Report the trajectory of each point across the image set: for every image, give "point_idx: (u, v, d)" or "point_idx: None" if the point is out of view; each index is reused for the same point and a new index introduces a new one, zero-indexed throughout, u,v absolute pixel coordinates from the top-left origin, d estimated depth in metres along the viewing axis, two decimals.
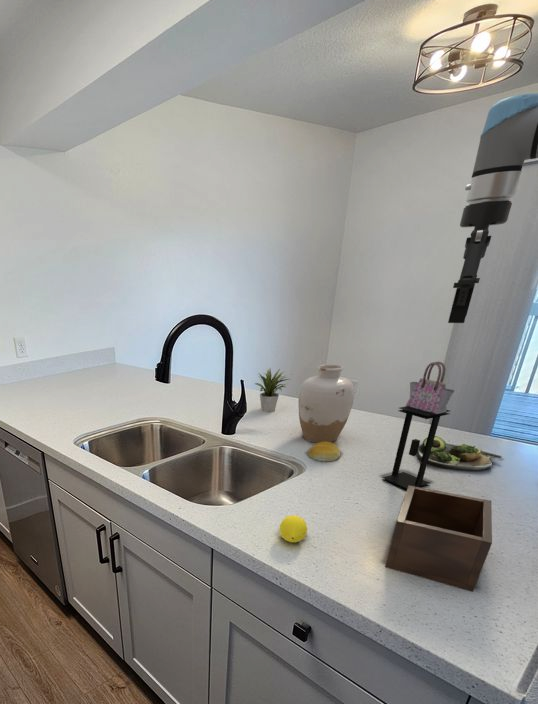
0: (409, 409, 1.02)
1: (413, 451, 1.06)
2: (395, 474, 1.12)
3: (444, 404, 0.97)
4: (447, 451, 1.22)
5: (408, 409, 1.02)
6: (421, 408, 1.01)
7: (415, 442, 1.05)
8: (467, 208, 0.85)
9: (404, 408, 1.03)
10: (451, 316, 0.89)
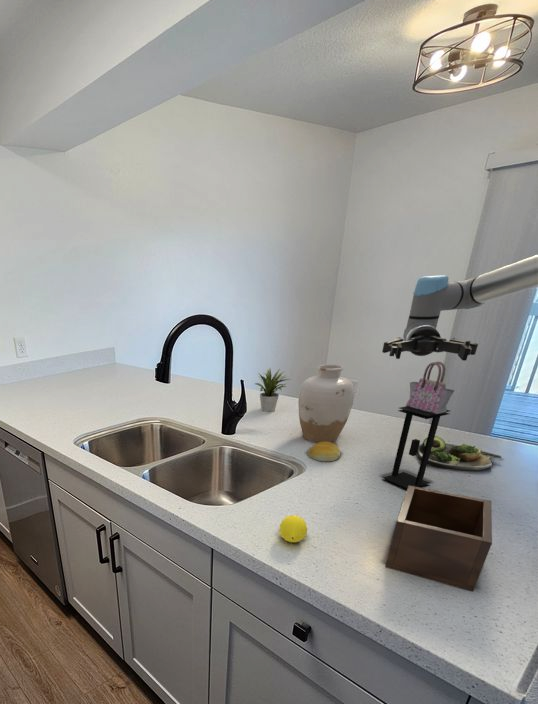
0: (409, 409, 1.02)
1: (413, 451, 1.06)
2: (395, 474, 1.12)
3: (444, 404, 0.97)
4: (447, 451, 1.22)
5: (408, 409, 1.02)
6: (421, 408, 1.01)
7: (415, 442, 1.05)
8: None
9: (404, 408, 1.03)
10: (396, 356, 1.08)
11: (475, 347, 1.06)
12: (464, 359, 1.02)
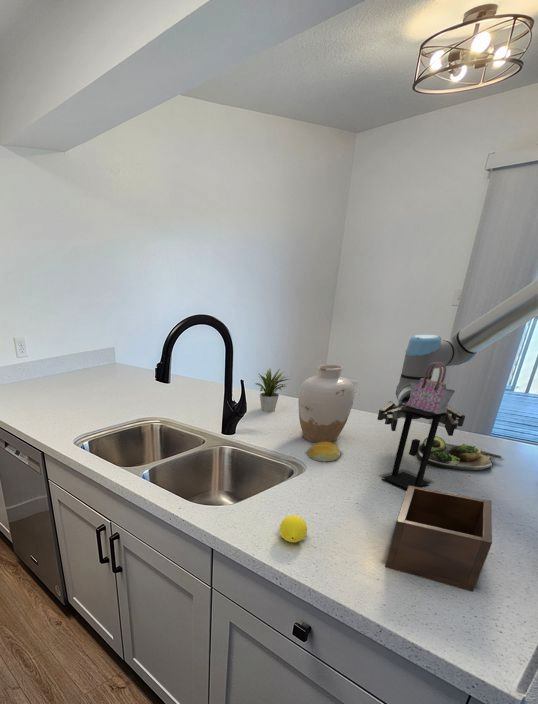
0: (410, 409, 1.02)
1: (413, 451, 1.06)
2: (395, 474, 1.12)
3: (444, 404, 0.97)
4: (447, 451, 1.22)
5: (408, 409, 1.02)
6: (421, 408, 1.01)
7: (415, 442, 1.05)
8: None
9: (404, 408, 1.03)
10: (391, 427, 1.04)
11: (462, 419, 1.02)
12: (450, 434, 0.98)
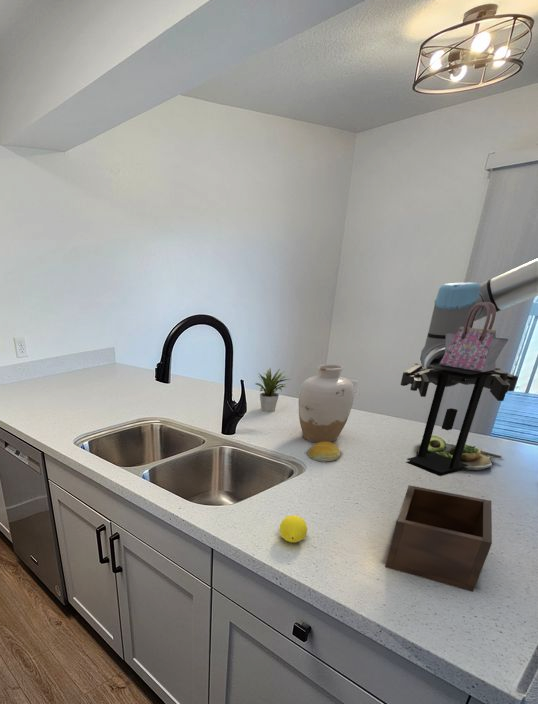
0: (445, 368, 0.78)
1: (448, 424, 0.82)
2: (422, 455, 0.88)
3: (493, 358, 0.73)
4: (447, 451, 1.22)
5: (443, 368, 0.78)
6: (461, 366, 0.77)
7: (451, 412, 0.81)
8: None
9: (438, 367, 0.79)
10: (420, 393, 0.80)
11: (514, 381, 0.78)
12: (500, 399, 0.74)
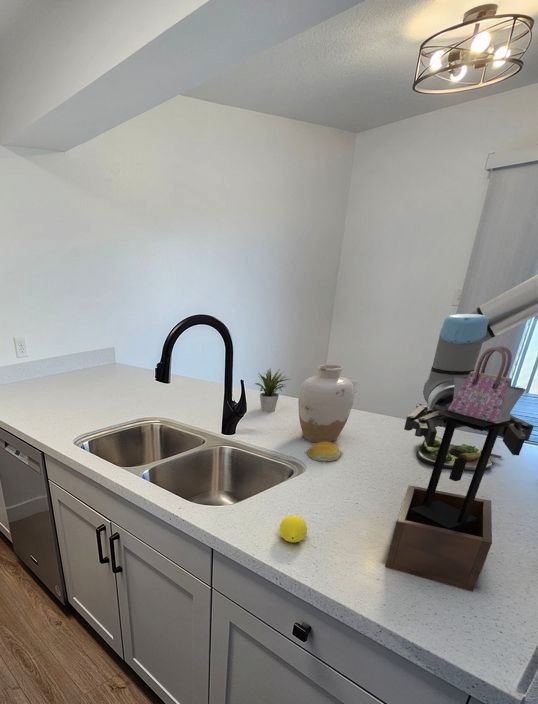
0: (454, 416, 0.71)
1: (456, 475, 0.75)
2: (427, 504, 0.81)
3: (509, 409, 0.66)
4: None
5: (452, 416, 0.71)
6: (472, 414, 0.70)
7: (460, 462, 0.74)
8: None
9: (446, 414, 0.72)
10: (426, 442, 0.73)
11: (529, 430, 0.71)
12: (515, 453, 0.67)
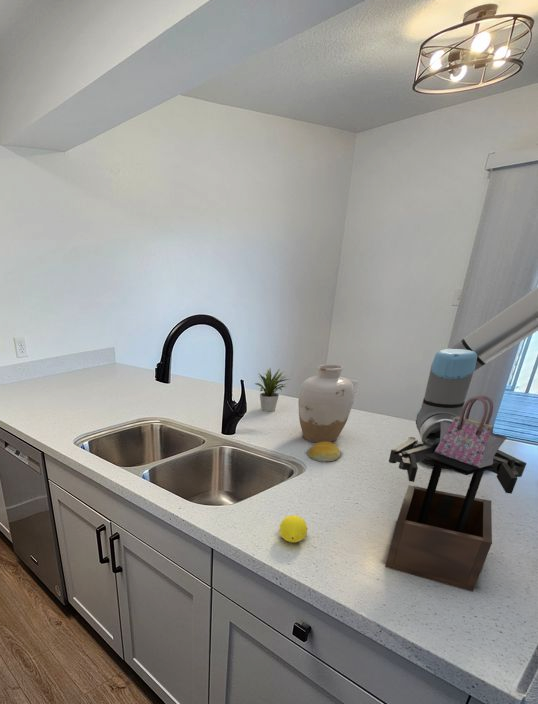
0: (441, 459, 0.74)
1: (444, 513, 0.78)
2: None
3: (491, 455, 0.69)
4: None
5: (438, 458, 0.75)
6: (457, 458, 0.73)
7: (447, 501, 0.77)
8: None
9: (433, 456, 0.75)
10: (408, 476, 0.77)
11: (522, 468, 0.74)
12: (509, 491, 0.70)
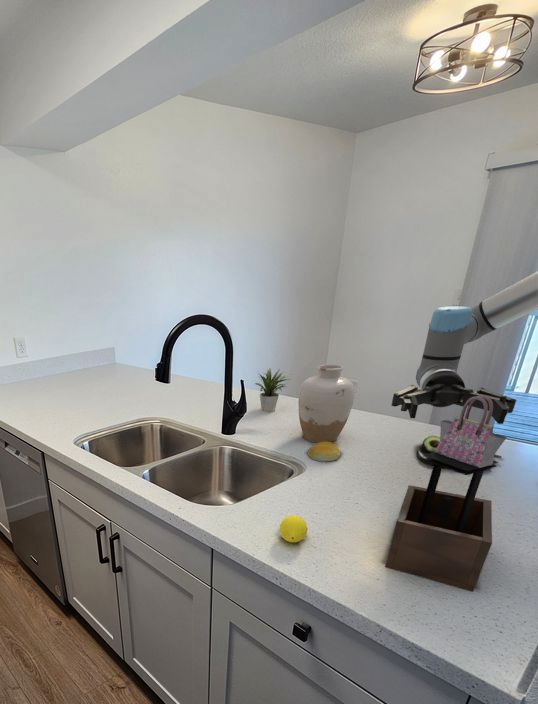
0: (441, 459, 0.74)
1: (444, 513, 0.78)
2: None
3: (491, 455, 0.69)
4: None
5: (438, 458, 0.75)
6: (457, 458, 0.73)
7: (447, 501, 0.77)
8: None
9: (433, 456, 0.76)
10: (410, 414, 0.85)
11: (513, 404, 0.82)
12: (500, 422, 0.78)
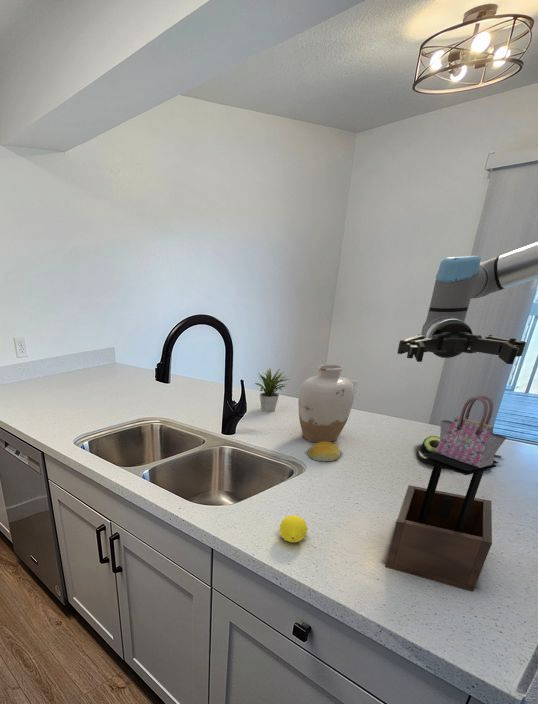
0: (441, 459, 0.74)
1: (444, 513, 0.78)
2: None
3: (491, 455, 0.69)
4: None
5: (438, 458, 0.75)
6: (457, 458, 0.73)
7: (447, 501, 0.77)
8: None
9: (433, 456, 0.76)
10: (416, 358, 0.83)
11: (522, 346, 0.80)
12: (510, 362, 0.76)
